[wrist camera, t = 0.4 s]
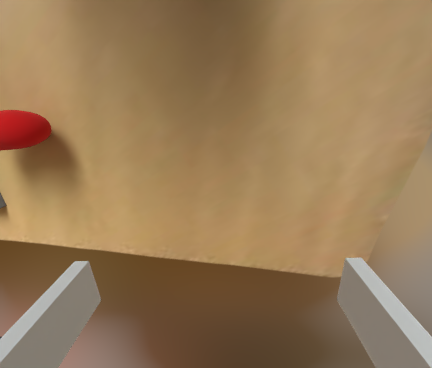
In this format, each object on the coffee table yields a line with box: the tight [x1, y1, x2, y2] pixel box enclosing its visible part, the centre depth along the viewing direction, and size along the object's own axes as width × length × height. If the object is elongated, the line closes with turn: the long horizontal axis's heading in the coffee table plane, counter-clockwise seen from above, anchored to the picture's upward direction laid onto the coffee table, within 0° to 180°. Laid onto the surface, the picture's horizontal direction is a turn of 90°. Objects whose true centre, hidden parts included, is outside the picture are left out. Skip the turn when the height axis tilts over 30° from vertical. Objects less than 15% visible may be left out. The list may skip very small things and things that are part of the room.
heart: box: [0, 110, 51, 150], centre depth 31 cm, size 12×5×10 cm, turn 96°
